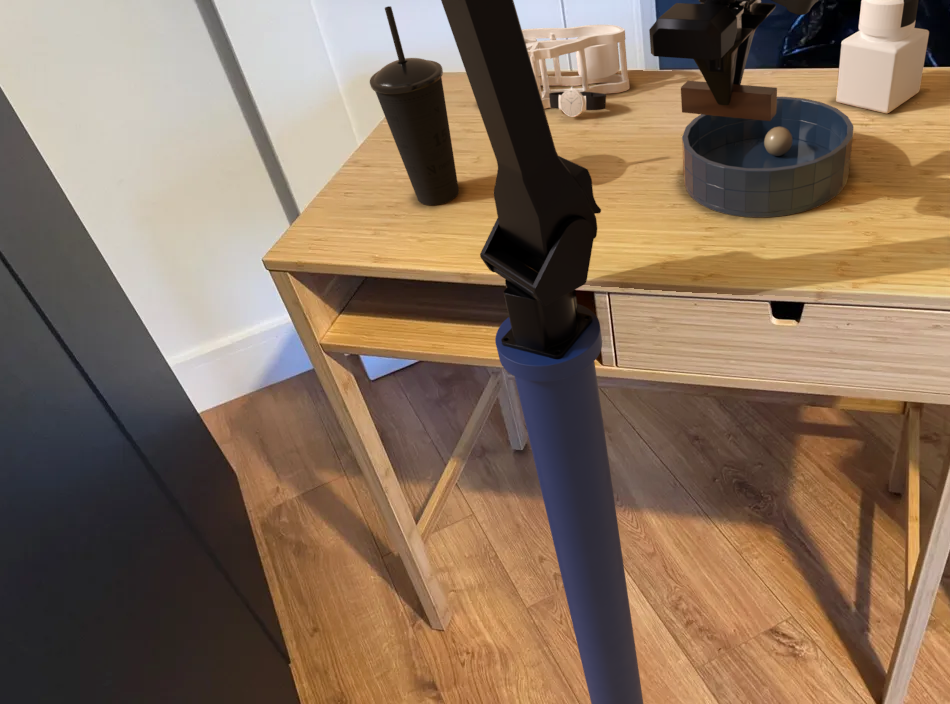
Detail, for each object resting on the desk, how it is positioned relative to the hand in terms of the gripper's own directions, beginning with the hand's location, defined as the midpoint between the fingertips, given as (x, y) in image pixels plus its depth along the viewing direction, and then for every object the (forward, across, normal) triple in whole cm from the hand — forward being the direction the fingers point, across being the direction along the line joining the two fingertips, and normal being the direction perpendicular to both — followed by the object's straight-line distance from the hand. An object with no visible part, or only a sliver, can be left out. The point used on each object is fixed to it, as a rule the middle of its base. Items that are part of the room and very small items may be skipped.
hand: (727, 100), depth 76 cm
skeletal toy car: (+12, +23, +34) cm, 43 cm away
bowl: (+12, +8, -1) cm, 14 cm away
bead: (+10, +12, -1) cm, 15 cm away
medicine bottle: (+12, +30, -7) cm, 33 cm away
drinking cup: (+11, -6, +33) cm, 35 cm away
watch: (+10, +18, +28) cm, 34 cm away
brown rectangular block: (+1, 0, 0) cm, 1 cm away
